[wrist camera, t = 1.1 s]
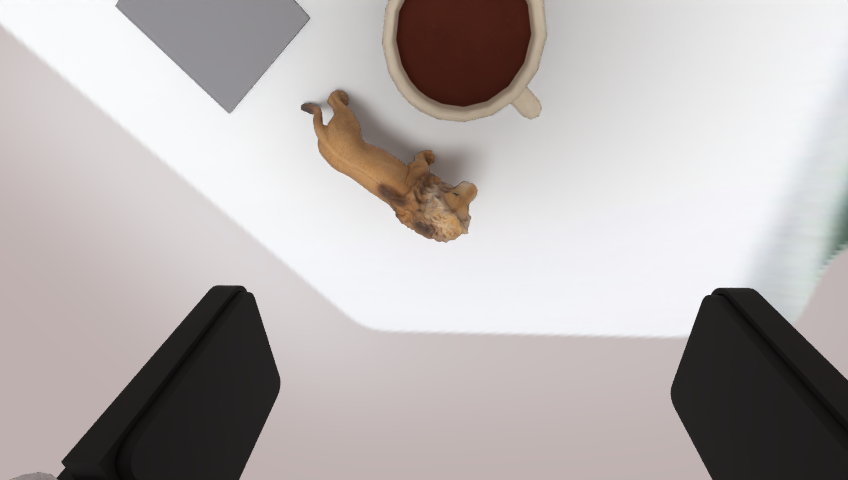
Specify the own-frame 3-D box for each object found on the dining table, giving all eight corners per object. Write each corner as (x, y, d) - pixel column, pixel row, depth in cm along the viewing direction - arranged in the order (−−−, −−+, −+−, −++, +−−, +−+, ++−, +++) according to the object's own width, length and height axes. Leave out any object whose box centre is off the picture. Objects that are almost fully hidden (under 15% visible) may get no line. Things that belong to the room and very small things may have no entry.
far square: (117, 6, 30) (115, 6, 30) (190, -116, 26) (188, -117, 26) (230, 113, 33) (228, 113, 33) (310, 18, 29) (309, 18, 29)
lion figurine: (484, 160, 34) (491, 207, 26) (453, 213, 36) (451, 270, 28) (313, 74, 31) (265, 95, 23) (293, 136, 34) (243, 175, 26)
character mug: (369, 11, 29) (311, 12, 18) (439, -86, 26) (424, -158, 15) (479, 119, 32) (490, 180, 21) (553, 44, 29) (612, 67, 18)
